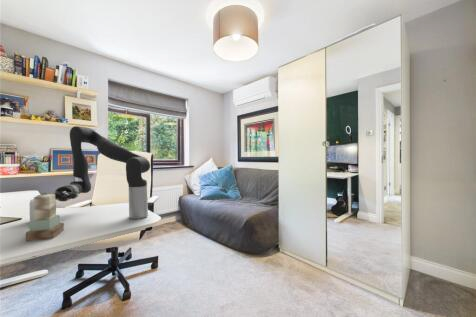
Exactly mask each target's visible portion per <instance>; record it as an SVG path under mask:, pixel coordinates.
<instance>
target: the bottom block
mask: <svg viewBox="0 0 476 317" xmlns="http://www.w3.org/2000/svg"><path fill="white" fill-rule="evenodd" d="M64 229H65V227H64V222H60V224H59V225H57V226H55V227H53V228H52V229H50V230H39V231H29V230H28V231H26V232H25V242H32V241H34V242H35V241H41V240H42V241H43V240H51V239H55V238H56V237H57V236H58V235H60V234H62V232H64V231H65V230H64Z"/></svg>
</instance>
